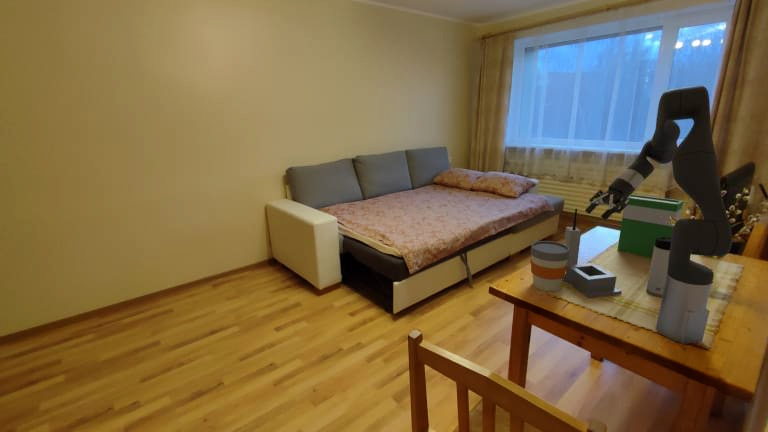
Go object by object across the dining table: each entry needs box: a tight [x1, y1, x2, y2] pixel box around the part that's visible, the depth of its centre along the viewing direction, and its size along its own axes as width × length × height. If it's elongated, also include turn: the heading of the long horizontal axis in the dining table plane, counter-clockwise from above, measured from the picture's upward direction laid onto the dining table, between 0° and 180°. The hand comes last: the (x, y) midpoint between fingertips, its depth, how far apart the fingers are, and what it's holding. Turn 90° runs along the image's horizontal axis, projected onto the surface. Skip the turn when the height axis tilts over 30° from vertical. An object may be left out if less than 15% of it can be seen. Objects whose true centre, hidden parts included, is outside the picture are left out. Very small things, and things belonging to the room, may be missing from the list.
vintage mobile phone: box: [564, 208, 582, 266], centre depth 136 cm, size 4×5×25 cm
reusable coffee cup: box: [530, 240, 569, 292], centre depth 125 cm, size 13×13×15 cm
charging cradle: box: [562, 262, 622, 299], centre depth 125 cm, size 16×12×6 cm
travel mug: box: [645, 237, 671, 298], centre depth 116 cm, size 6×7×20 cm
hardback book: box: [617, 193, 684, 259], centre depth 147 cm, size 18×7×24 cm, turn 39°
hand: (594, 215), depth 134 cm, fingers open, 8 cm apart
